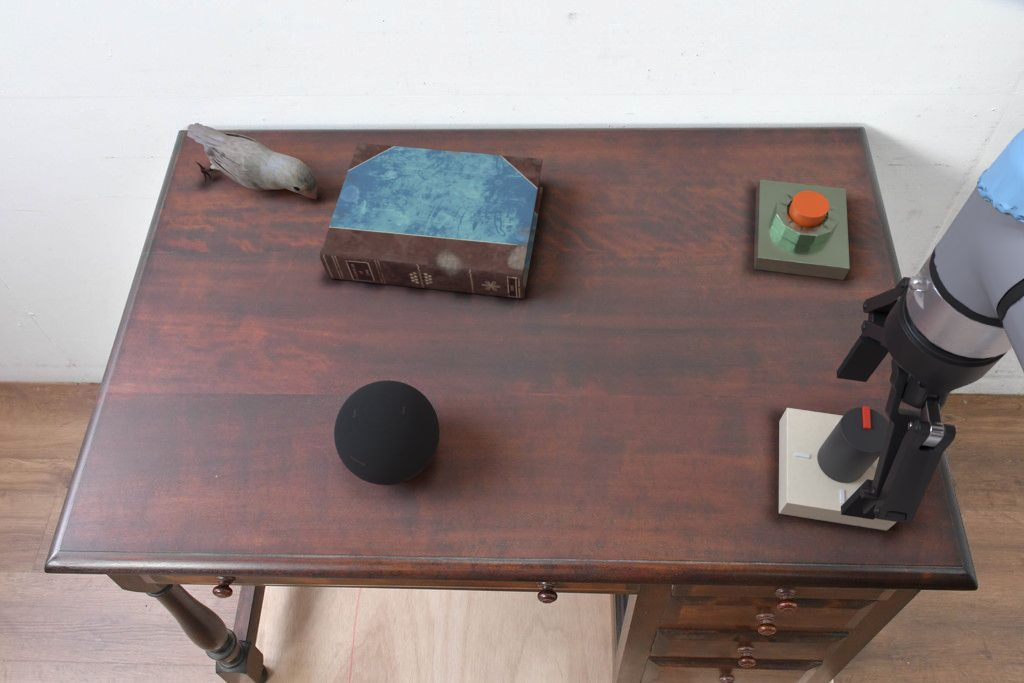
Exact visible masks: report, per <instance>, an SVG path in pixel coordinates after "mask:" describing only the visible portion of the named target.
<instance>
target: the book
mask: <svg viewBox="0 0 1024 683" xmlns="http://www.w3.org/2000/svg"><path fill="white" fill-rule="evenodd" d="M543 162H544V159H543V158H535V157H523V156H511V155H501V154H489V153H478V152H477V153H476V152H468V151H466V152H465V151H457V150H455V151H454V150H443V149H433V148H422V147H411V146H410V147H409V146H397V145H386V144H376V143H375V144H374V143H362V142H358V143H357V145H356V146H355V150H354V153H353V155H352V158H351V161H350V164H349V167H348V170H347V172H346V176H345V179H344V182H343V184H342V187H341V190H340V192H339V196H338V199H337V201H336V204H335V207H334V210H333V214H332V217H331V220H330V222H329V225H328V228H327V232H326V236H325V238H324V241H323V246H322V248H321V250H320V251H319V258H320V262H321V264H322V266H323V268H324V271H325V273H326V275H327V277H328V278H329V279H334V280H343V281H354V282H362V283H372V284H382V285H389V286H399V287H409V288H418V289H427V290H428V289H429V290H438V291H447V292H448V291H449V292H457V293H465V294H466V293H467V294H476V295H483V296H492V297H493V296H494V297H503V298H504V297H505V298H514V299H525V293H526V288H527V282H528V276H529V272H530V271H529V270H530V265H531V258H532V253H533V247H534V242H535V237H536V230H537V226H538V225H537V224H538V219H539V214H540V208H541V201H542V195H543V189H544V187H543V186H540V181H541V180H540V178H541V172H542V168H543Z"/></svg>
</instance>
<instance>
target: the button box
mask: <svg viewBox="0 0 1024 683" xmlns="http://www.w3.org/2000/svg"><path fill="white" fill-rule="evenodd" d="M802 191H815V192H818V193H820V194H822V195H823V196H824V197H825V198H826V199H827V200H828V203H829V210H828V212H827V214H826V217H825V219H824V221H823V222H822V223H821V224H820V225H818V226H816V227H803V226H800V225H798V224H796V223H795V222H794V221H793V220H792V219H791V218H790V216H789V208H790V206H791V203H792V200H793V198H794V196H795V195H796V194H798V193H799V192H802ZM754 206H755V208H754V210H755V211H754V243H753V244H754V245H753V270H758V271H766V272H774V273H783V274H791V275H799V276H807V277H814V278H815V277H816V278H823V279H831V280H840V281H844V280H845V278H846V276H847V274H848V272H849V271H850V269H851V266H850V248H849V245H850V244H849V229H848V207H847V206H848V204H847V188H844V187H843V188H842V187H834V186H827V185H825V186H824V185H816V184H806V183H798V182H797V183H796V182H790V181H789V182H788V181H780V180H771V179H770V180H769V179H759V181H758V184H757V187H756V191H755V205H754Z"/></svg>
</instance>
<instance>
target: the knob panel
mask: <svg viewBox="0 0 1024 683" xmlns="http://www.w3.org/2000/svg"><path fill="white" fill-rule="evenodd" d="M842 417H843V415H842V414H834V413H827V412H820V411H813V410H808V409H807V410H805V409H800V408H799V409H798V408H791V407H786V409H785V411H784V413H783V414H782V416H781V418H780V419H779V425H778V426H779V427H778V429H779V430H778V432H779V434H778V436H779V437H778V438H779V439H778V514H779V515H784V516H785V515H787V516H793V517H798V518H805V519H811V520H816V521H817V520H818V521H824V522H830V523H836V524H841V525H849V526H855V527H862V528H867V529H873V530H881V531H888V530H890V528H892V527H893V526H894V525H896V523H897V522H894V521H888V520H881V519H876V518H875V519H874V520H872V519H865V518H859V517H852V516H846V515H841V506H842V505H843V504H844V503H845V502H846V501H847V500H848V498H849V497H850V496H851V495H852V494H853V493H854V492H855V491H856V490H857V489H858V488H859V487H860V486H861V485H862V484H863V483H864V482H865V481H866V480H867V479H869V480H873V478H874V475H875V471H876V467H877V464H878V460H879V457H878V459H877V460H876V461H875V462H874V463H873V464H872V465H871V466H870V467H869V469H868V470H867V471H866V472H865V473H864V474H863V475H862V476H861V477H860V478H859V479H858V480H856V481H854V482H850V483H841V482H837V481H835V480H832V479H831V478H829V477H828V476H827V475H825V474H824V472H823V471H822V470H821V468H820V466H819V464H818V460H817V455H818V451H819V449H820V447H821V446H822V444H823V443H824V442H825V440H826V439H827V437H828V436H829V435H830V433H831V432H832V431H833V429H834V428H835V426H836V425H837V424H838V422H839V421H840V420H841V418H842Z"/></svg>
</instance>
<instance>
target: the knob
mask: <svg viewBox="0 0 1024 683" xmlns="http://www.w3.org/2000/svg"><path fill="white" fill-rule="evenodd" d="M842 416H843V417H842V418H841V420H840V421H839V422H838V424H837V425H836V426H835V428H834V429H833V431H832V432H831V433H830V435H829V436H828V437H827V439H826V440H825V442H824V443H823V444H822V446H821V447H820V449H819V451H818V455H817V460H818V464H819V466H820V468H821V470H822V471H823V472H824V474H825V475H827V476H828V477H829V478H831V479H832V480H835V481H837V482H841V483H850V482H854V481H856V480H858V479H859V478H860V477H861V476H862V475H863V474H864V473H865V472H866V471H867V470H868V469H869V467H870V466H871V465H872V464H873V463H874V462H875V461H876V460H877V459H878V457H879V456H880V453H881V449H882V445H883V442H884V438H885V434H886V431H887V427H888V423H889V420H888V419H887V418H886V417H885V416H884V415H883V414H881V413H880V412H878V411H876V410H874V409H872V408H871V407H870V406H867V405H863V406H862V407H859V406H858V407H854V408H851V409H849V410H848V411H846V412H845V413H844V414H843V415H842Z"/></svg>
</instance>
